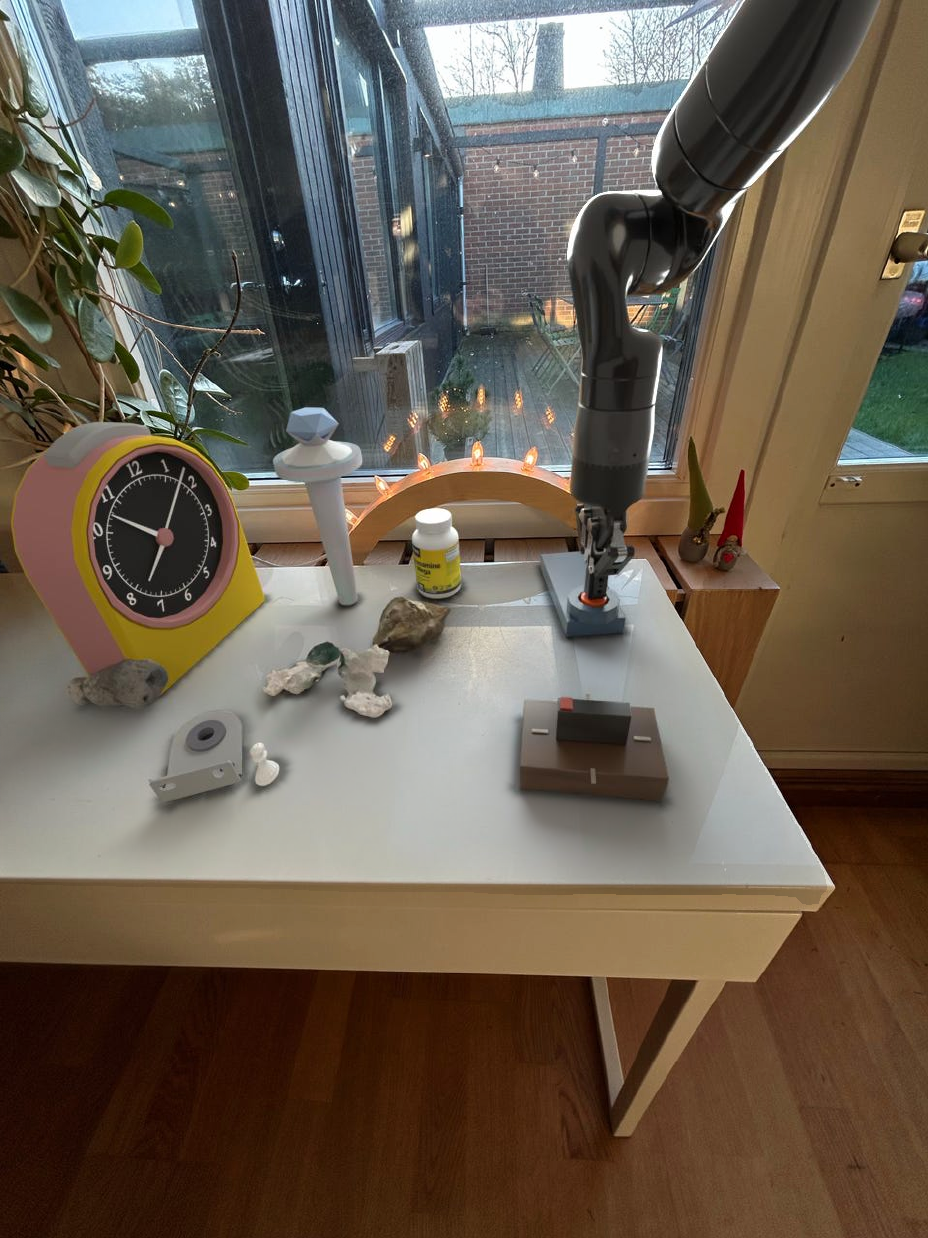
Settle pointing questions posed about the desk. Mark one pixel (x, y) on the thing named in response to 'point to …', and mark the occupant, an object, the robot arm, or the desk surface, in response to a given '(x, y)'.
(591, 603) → the button
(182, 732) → the bracket
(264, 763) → the chess pawn
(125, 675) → the stone
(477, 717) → the desk surface
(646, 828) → the desk surface
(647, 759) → the panel
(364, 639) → the desk surface
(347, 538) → the novelty light stick
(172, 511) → the alarm clock
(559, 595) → the button box
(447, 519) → the pill bottle
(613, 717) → the red-tipped grey bar
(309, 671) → the rock
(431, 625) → the fossilized seashell
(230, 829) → the desk surface
